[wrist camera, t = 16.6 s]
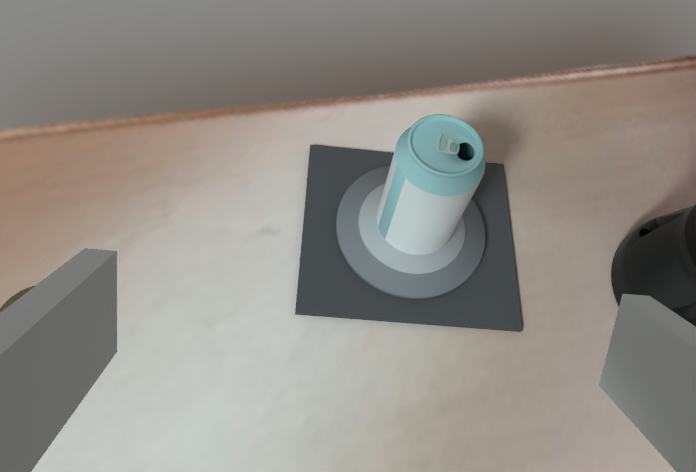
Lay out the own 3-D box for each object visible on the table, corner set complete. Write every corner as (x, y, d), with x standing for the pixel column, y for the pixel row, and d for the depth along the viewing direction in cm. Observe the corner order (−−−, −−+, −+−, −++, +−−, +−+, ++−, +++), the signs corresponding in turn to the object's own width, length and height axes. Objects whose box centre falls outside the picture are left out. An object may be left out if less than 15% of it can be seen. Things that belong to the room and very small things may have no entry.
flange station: (501, 167, 60) (507, 156, 58) (520, 331, 51) (528, 324, 49) (310, 147, 58) (311, 136, 56) (295, 314, 49) (296, 306, 48)
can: (429, 184, 55) (464, 98, 45) (464, 244, 52) (510, 167, 42) (363, 204, 53) (383, 119, 43) (395, 268, 50) (425, 193, 40)
